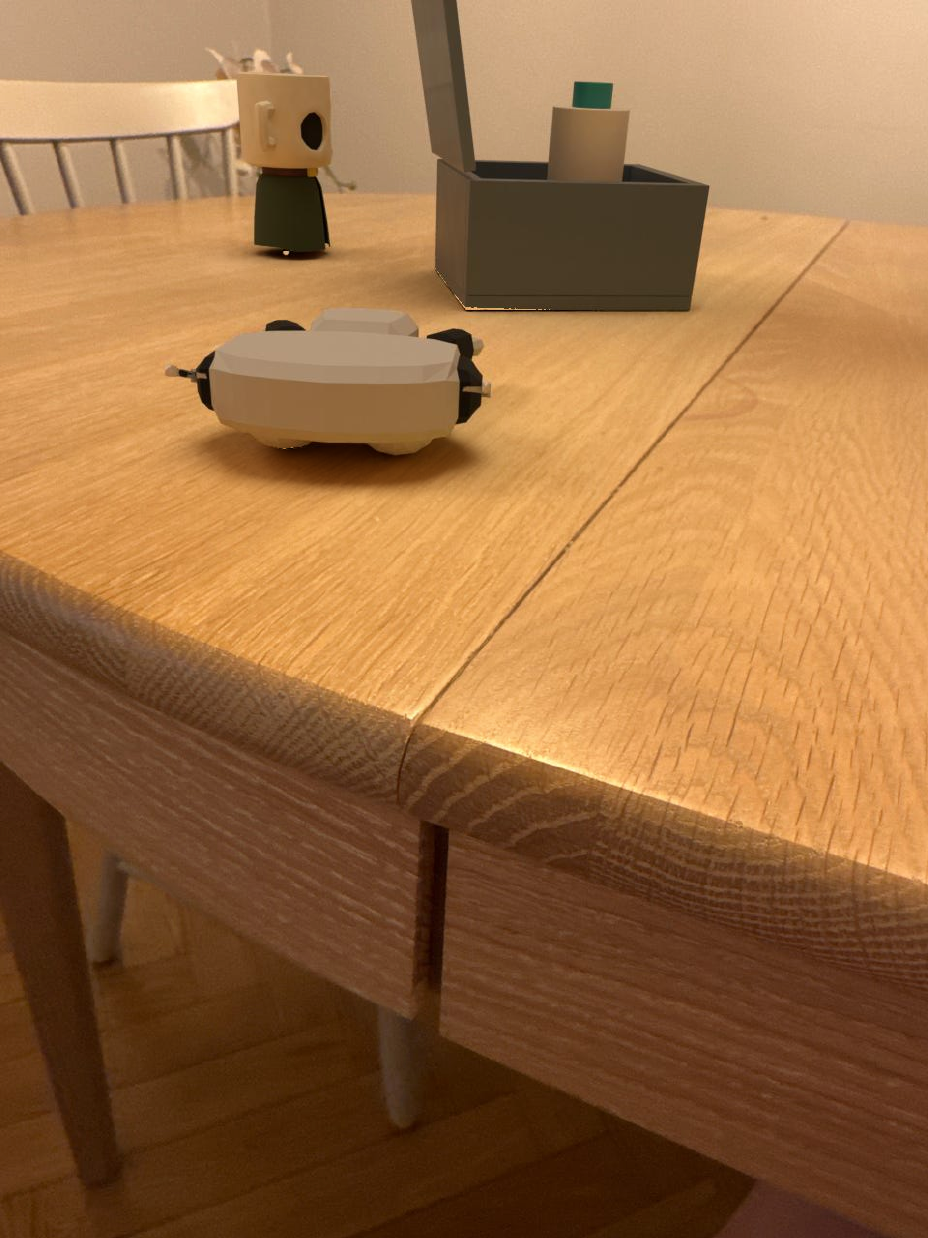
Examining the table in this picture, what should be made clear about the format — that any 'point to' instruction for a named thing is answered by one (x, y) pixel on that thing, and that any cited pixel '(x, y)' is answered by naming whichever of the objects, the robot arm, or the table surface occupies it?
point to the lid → (444, 81)
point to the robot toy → (343, 381)
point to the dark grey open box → (568, 238)
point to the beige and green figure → (287, 155)
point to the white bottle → (588, 136)
